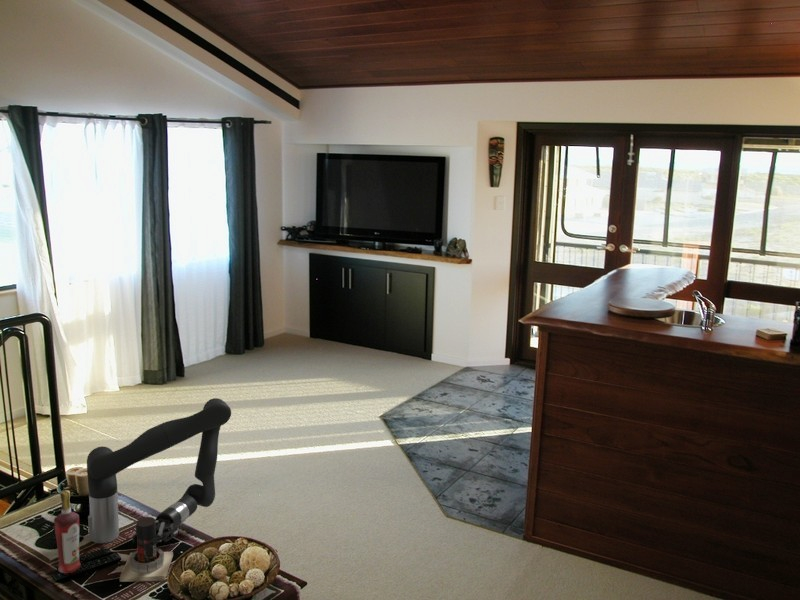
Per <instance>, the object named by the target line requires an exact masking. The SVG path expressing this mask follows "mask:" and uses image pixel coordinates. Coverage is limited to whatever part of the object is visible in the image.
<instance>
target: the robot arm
mask: <svg viewBox="0 0 800 600" xmlns="http://www.w3.org/2000/svg"><path fill="white" fill-rule="evenodd" d="M231 417H232V410H231V407H230V406H229V404H227V402H226V401H224V400H223V399H220V398H216V397H214V398H211V399H209V400H207V401H206V402H205V404H204V405H203V409H202V410H200V411H198V412H196V413H194V414H191V415H189V416H185V417H181V418H176V419H172V420H169V421H168V420H167V421H165V422H162V423H159V424H157V425H155V426H152V427H151V428H149V429H147V430H145V431H144V432H142V433H141V434H140V435H138V436H137V438H135V439H133V440H132V441H131V442H130V443H128V444H127V445H126V446H124V447H123V446H122V447H121V448H119V449H117V450H114V451H113V450H112V449H111V448H110V447H106V446H98V447H97V446H96V447H95V448H93V449H92V450H91V451H90V452H89V453H88V456H87V458H86V473H87V485H88V486H87V487H88V499H89V503H88V504H89V515H88V516H87V520H88V523H87V524H88V541H89V542H93V543H95V544H107V543H110V542H111V543H112V542H113V541H115V540H116V539H118V537H119V536H120V526H119V525H120V524H119V523H120V522H119V521H120V519H119V500H118V499H119V497H118V495H119V494H118V482H117V474H118V473H120V472H122V471H124V470H125V469H127V468H128V467H131V466H133V465H136V463H139V462H142V461H143V460H146V459H147V458H151V457H152V456H154V455H157V454H159V453H161V452H164V451H166V450H168V449H170V448H172V447H174V446H176V445H179V444H181V443H183V442H185V441H187V440H189V439H191V438H193V437H195V436H196V435H199V434H201V439H200V445H199V451H198V454H197V459H196V465H195V471H194V478H195V479H197V480H198V481H200V482H201V484H202V485H201V484H198V483H193V484H191V485H189V486H188V487H187V489H186V490H185V492H184V493H183V495H182V496H181V498H179V499H178V500H177V501H175V502H174V503H172V504H171V505H169V506H168V507H167V508H165V509H164V510H162V512H160V513H159V514H158V515H157V516H156V518H154V519H155V522H156V536H155V537H153V538H152V539H151V540H150V541H149V546H150V547H152V546H154V545H155V544H156V545H157V544H158V543H161V542H162V541H163V542H164V543H166V542H168V541H170V540H172V538H174V537H176V536H177V535H178V534H179V527H180V526H181V525H182V524H183V523H184V522H185V521H186V520H187V519H189V518H190V517H191V516H192V515H193V514H194V513H195V512H196V511H197V509H198V506H200V507H204V508H208V507H210V506H211V505H212V504H213V503H214V500H215V498H216V486H215V485H216V484H215V474H216V473H215V471H216V468H217V462H218V452H219V451H218V450H219V449H218V446H219V436H220V430H221V427H222V426H224V425H225V424H226V423H228V421H229V420H230V419H231ZM131 539H132V543H133V544H134V543H137V531H136V530H135V534H133V535H132V536H131Z"/></svg>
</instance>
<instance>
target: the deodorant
mask: <svg viewBox="0 0 800 600" xmlns="http://www.w3.org/2000/svg"><path fill="white" fill-rule="evenodd" d="M155 519H156V518H154V517H151V516H145V517H142V518H141V517H140V519H138V520H136V523H135V526H136V527H135V532H136V531H137V541H136V548H137V549H136V551H137V554H138V562H139V563H149V562H152V561H155V560H156V559H157V550H156V548H157V544H155V545H154V546H152V547H150V546H149V541H150V540H151V539H152V538H153V537H155V536H156V522H155Z"/></svg>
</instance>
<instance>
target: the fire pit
mask: <svg viewBox="0 0 800 600" xmlns="http://www.w3.org/2000/svg"><path fill="white" fill-rule="evenodd" d="M156 550H157V559H156V560H155V561H152V562H149V563H139V562H138V554H137V550H135V551H134V552H129V556H128V558H127V560H126V561H125V565H124V567H123V569H122V571H121V573H120V575H119V582H121V583H122V582H123V583H125V582H152V581H153V582H162V581H165V580H166V578H167V575H168V572H169V569H170V566H171V562H172V560H173V557H174V551H163V550H162V549H161V548H158V547H156Z"/></svg>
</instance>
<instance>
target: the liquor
mask: <svg viewBox="0 0 800 600" xmlns="http://www.w3.org/2000/svg"><path fill="white" fill-rule="evenodd" d="M70 491H71V490H66V489H65V490H63V491H61V492H60V500H61V513H60V514H58V515H57V516H55V517H54V520H53V523H54V533H55V538H56V540H55V541H56V547H57V556H58V567H57V571H58V572H59V573H62V574H63V573H65V574H64V575H69V574H68V573H72V574H74V573H76V572H77V571H78V570H79V569H80V568H81V566H82V563H81V562H80V515H79V514H78V513H76V512H74V511H72V508H71V502H70V498H71V492H70ZM76 570H77V571H76ZM73 572H74V573H73ZM66 573H67V574H66Z"/></svg>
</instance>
